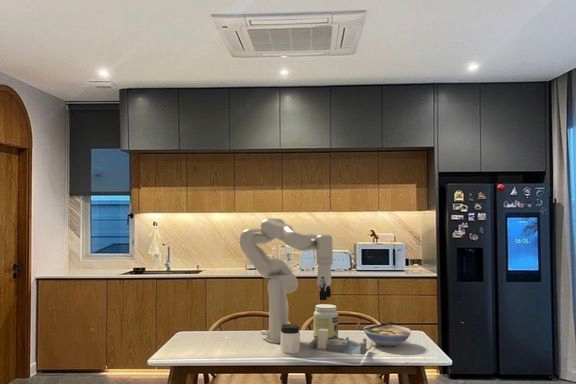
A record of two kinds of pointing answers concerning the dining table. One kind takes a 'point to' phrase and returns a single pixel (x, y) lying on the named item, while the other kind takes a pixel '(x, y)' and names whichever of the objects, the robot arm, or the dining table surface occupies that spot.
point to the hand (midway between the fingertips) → (325, 298)
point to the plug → (323, 338)
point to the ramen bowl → (387, 334)
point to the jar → (290, 338)
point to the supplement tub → (326, 320)
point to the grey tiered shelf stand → (340, 346)
